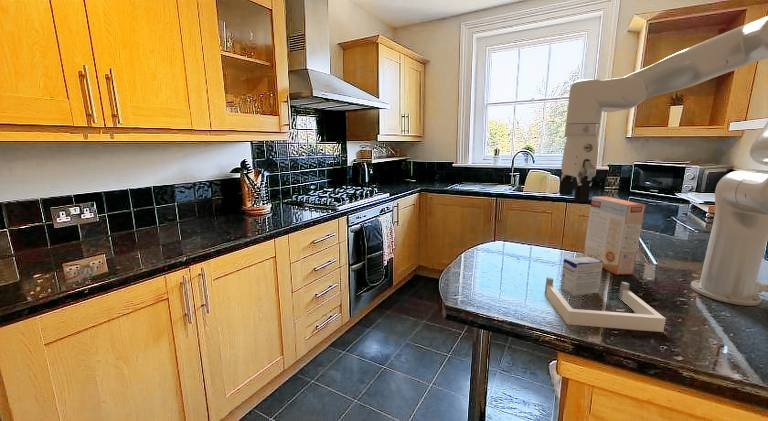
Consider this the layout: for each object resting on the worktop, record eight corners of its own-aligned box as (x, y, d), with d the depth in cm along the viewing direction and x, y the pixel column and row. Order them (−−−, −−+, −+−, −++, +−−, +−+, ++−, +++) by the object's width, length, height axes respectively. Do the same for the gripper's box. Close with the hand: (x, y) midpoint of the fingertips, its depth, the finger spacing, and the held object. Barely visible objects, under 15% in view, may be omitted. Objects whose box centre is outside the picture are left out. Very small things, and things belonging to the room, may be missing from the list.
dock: (623, 298, 82) (626, 282, 81) (663, 332, 68) (667, 312, 67) (544, 293, 84) (546, 277, 83) (566, 324, 70) (569, 305, 69)
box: (584, 286, 89) (588, 255, 87) (598, 293, 84) (603, 261, 82) (559, 289, 87) (563, 258, 85) (572, 296, 82) (577, 264, 81)
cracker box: (634, 275, 96) (647, 204, 92) (615, 275, 96) (627, 204, 91) (598, 258, 110) (608, 195, 105) (581, 258, 109) (590, 195, 105)
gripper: (616, 131, 76) (604, 204, 79) (582, 132, 92) (573, 193, 96) (580, 130, 76) (571, 203, 80) (553, 132, 93) (546, 192, 97)
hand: (572, 198), depth 88 cm, fingers open, 9 cm apart
